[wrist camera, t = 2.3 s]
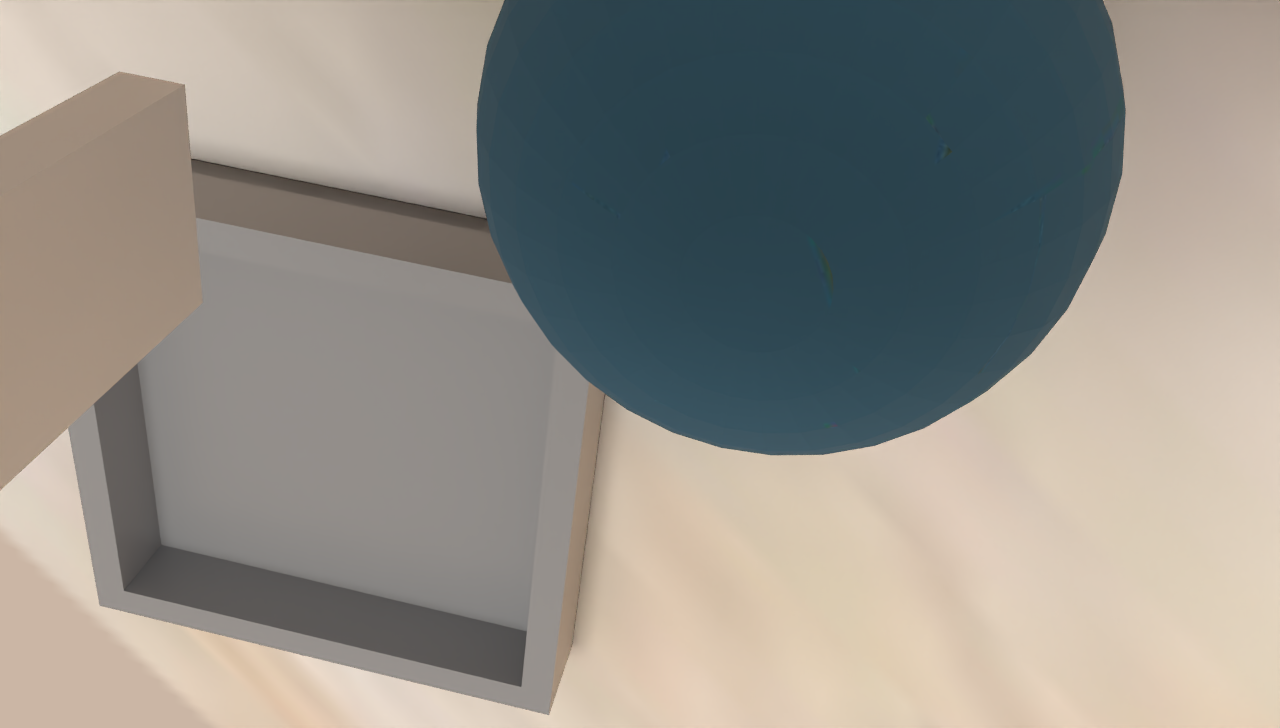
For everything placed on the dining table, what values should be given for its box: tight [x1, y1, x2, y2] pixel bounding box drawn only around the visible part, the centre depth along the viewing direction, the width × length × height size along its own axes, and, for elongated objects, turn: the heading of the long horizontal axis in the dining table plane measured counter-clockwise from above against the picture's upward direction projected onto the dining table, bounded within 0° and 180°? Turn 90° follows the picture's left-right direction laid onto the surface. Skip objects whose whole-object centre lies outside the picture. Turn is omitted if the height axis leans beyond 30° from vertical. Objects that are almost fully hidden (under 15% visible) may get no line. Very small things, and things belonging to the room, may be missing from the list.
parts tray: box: [68, 159, 605, 715], centre depth 29 cm, size 13×13×2 cm
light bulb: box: [477, 0, 1126, 455], centre depth 17 cm, size 8×8×12 cm
